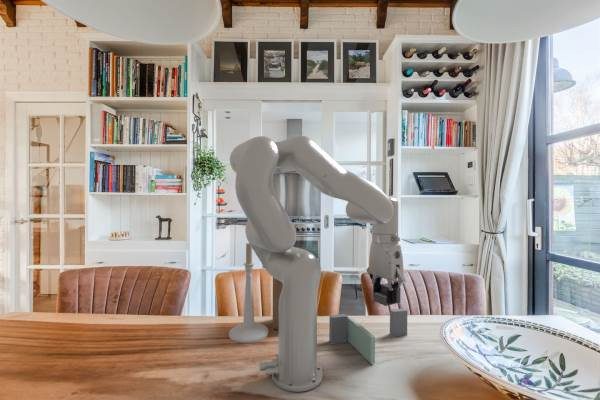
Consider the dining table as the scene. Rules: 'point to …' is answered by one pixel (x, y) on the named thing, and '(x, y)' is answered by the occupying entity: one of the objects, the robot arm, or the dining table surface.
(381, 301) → the dark grey stepped block
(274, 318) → the wooden block
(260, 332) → the candlestick
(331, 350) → the dining table surface
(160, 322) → the dining table surface
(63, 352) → the dining table surface
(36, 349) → the dining table surface
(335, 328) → the door frame
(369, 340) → the door
